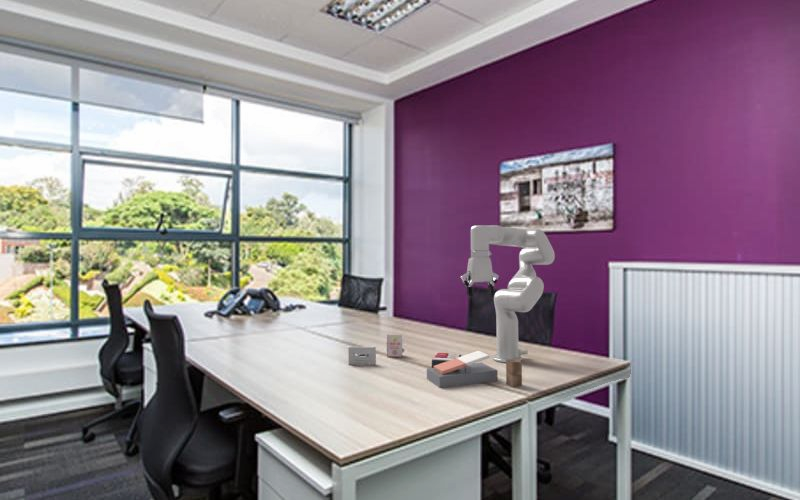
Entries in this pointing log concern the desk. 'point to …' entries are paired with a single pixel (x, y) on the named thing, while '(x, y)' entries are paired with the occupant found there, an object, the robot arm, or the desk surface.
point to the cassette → (362, 359)
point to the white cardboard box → (394, 345)
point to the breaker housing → (463, 375)
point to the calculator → (443, 358)
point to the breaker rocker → (461, 362)
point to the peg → (514, 373)
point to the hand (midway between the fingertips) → (480, 295)
